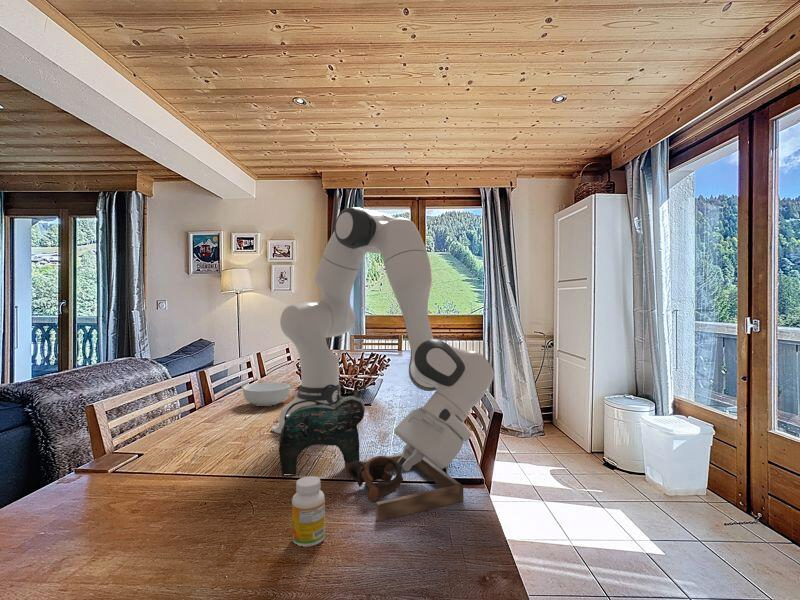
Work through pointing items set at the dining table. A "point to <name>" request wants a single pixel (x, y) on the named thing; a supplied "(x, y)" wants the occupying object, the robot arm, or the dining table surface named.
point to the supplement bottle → (308, 512)
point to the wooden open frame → (420, 501)
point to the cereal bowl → (266, 393)
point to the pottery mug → (376, 476)
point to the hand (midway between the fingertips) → (401, 467)
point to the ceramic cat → (321, 429)
